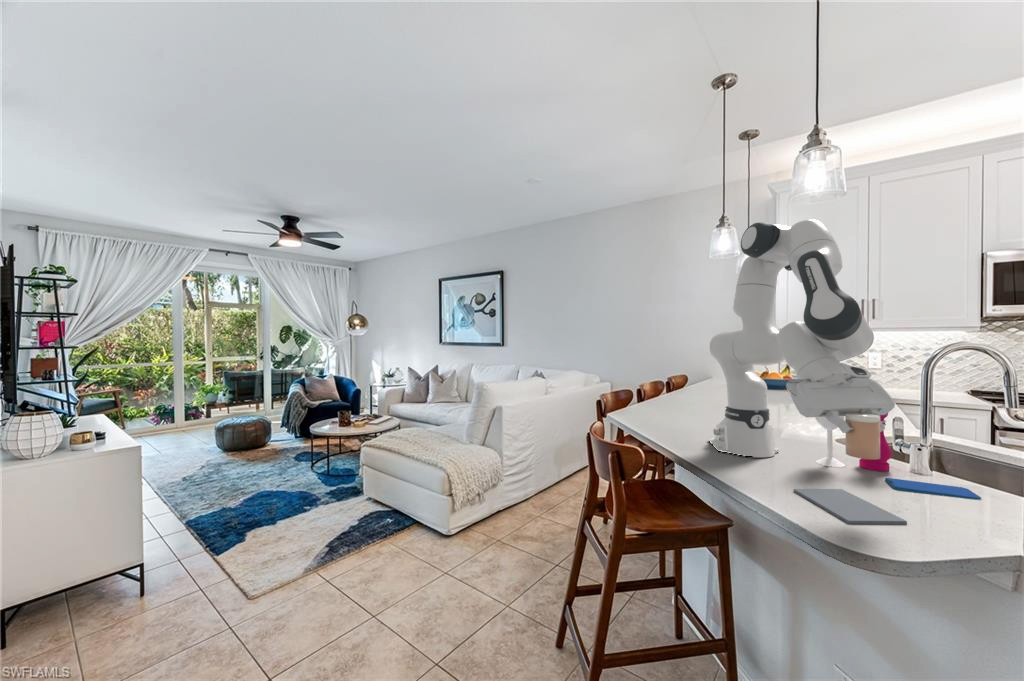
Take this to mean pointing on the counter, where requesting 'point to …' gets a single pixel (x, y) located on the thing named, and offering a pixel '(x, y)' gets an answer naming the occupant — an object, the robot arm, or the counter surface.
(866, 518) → the slate mat
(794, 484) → the counter surface
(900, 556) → the counter surface
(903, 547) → the counter surface
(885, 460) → the pepper mill
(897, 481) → the smartphone
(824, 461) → the champagne flute
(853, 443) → the terracotta jar
